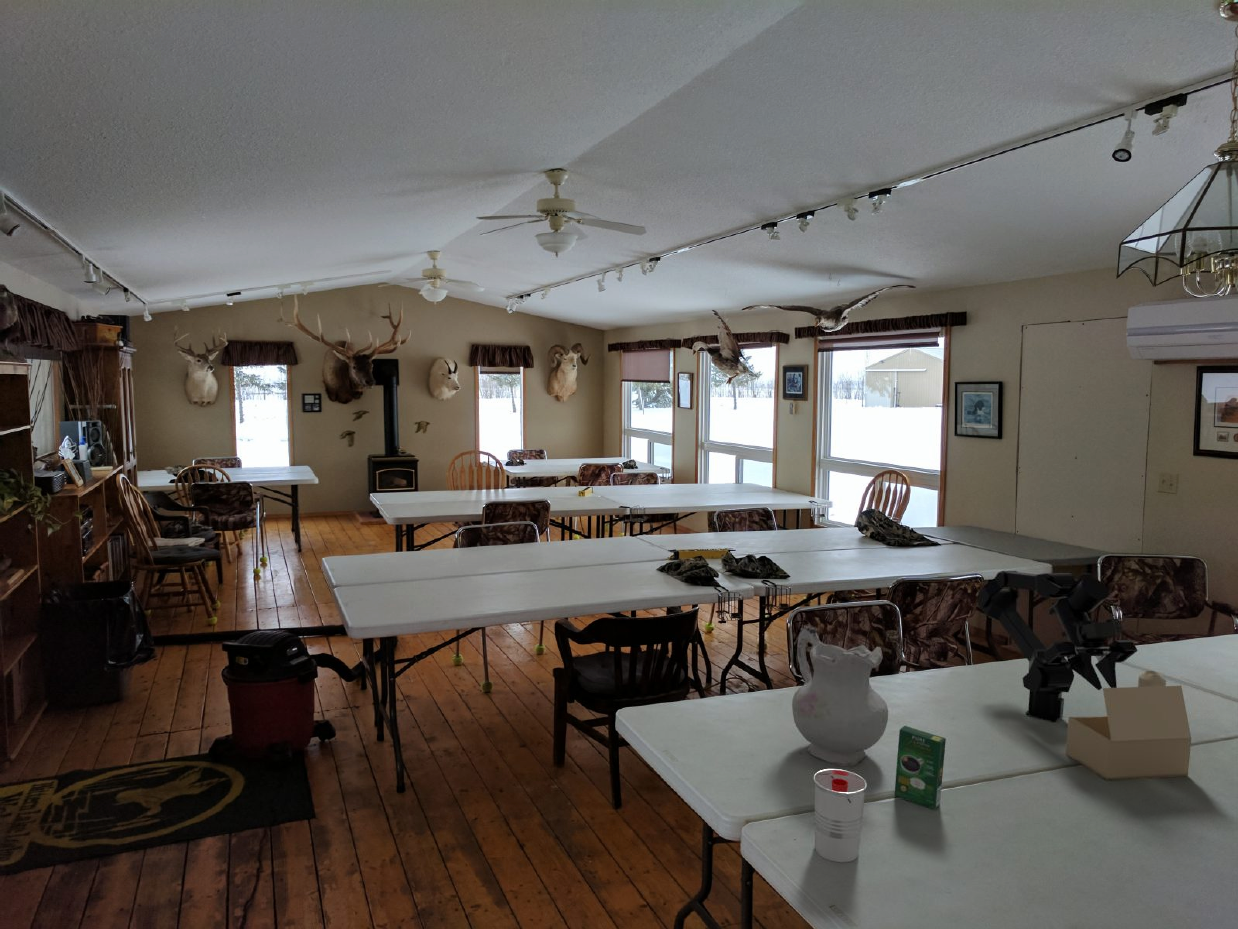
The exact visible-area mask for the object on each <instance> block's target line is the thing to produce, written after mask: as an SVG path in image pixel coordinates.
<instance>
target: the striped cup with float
mask: <svg viewBox="0 0 1238 929" xmlns="http://www.w3.org/2000/svg"><path fill="white" fill-rule="evenodd" d="M812 780H813V781H814V804H813V805H814V806H813V807H814V811H813V812H814V813H813V816H814V817H813V818H814V820H813V821H814V850H815V852H816V853H817V854H818V855H819V856H820V857H822V858H823V859H826V860H828V861H831V862H835V863H850V862H853V861H855V860H856V859H857V858H858V856H859V855H860V854H859V852H860V843H861V841H860V840H861V832H862V826H863V824H862V823H863V819H864V818H863V817H864V816H863V815H864V806H865V804H864V803H865V796H866V794H865V793H866V789H867V788H868V784H867V781H866V780H865V779H864V778H863V777H862V776H860V775H859V774H857V773H855V772H852V771H848V770H844V769H837V768H827V769H822V770H819V771H817V772H816V773H815V774H814V775H813V778H812Z"/></svg>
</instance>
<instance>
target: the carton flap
mask: <svg viewBox="0 0 1238 929" xmlns="http://www.w3.org/2000/svg"><path fill="white" fill-rule="evenodd" d="M1102 692H1103V698H1104V703H1105V710H1106V711H1105V712H1106V716H1107V717H1108V723H1109V729H1110V735H1111V741H1128V740H1151V739H1173V738H1191V739H1192V735H1191V730H1190V726H1189V725H1190V724H1189V719H1188V713H1187V708H1186V702H1185V698H1184V693H1183V692H1184V691H1183V688H1182V685H1166V686H1154V687H1138V686H1127V687H1126V686H1125V687H1117V688H1111V687H1102Z"/></svg>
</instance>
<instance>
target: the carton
mask: <svg viewBox="0 0 1238 929" xmlns="http://www.w3.org/2000/svg"><path fill="white" fill-rule="evenodd" d="M1067 720H1068V721H1067V731H1066V732H1067V733H1066V743H1065V744H1066V746H1065V748H1066V749H1065V755H1066V756H1068V757H1070V758H1072V759H1073V760H1074V761H1075V762H1077V763H1078V764H1081V765H1082V766H1084V767H1085V768H1086V769H1088V770H1089V771H1092V772H1093V773H1094V774H1096V775H1097V776H1099V777H1100V778H1102V779H1104V780H1105V781H1119V780H1141V779H1156V778H1157V779H1160V778H1174V777H1175V778H1176V777H1177V778H1179V777H1188V776H1189V767H1190V758H1191V745H1192V737H1191V738H1173V739H1151V740H1128V741H1111V735H1110V729H1109V723H1108V717H1107V715H1089V716H1068V718H1067Z"/></svg>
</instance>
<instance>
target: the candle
mask: <svg viewBox="0 0 1238 929" xmlns="http://www.w3.org/2000/svg"><path fill="white" fill-rule="evenodd" d="M1154 686H1167V680H1166V679H1165V677H1163V676H1162V675H1161V674H1160V673H1158V672H1156V671H1155V670H1146V671H1143V673H1141V674H1139V675H1138V683H1137V687H1154Z"/></svg>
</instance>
